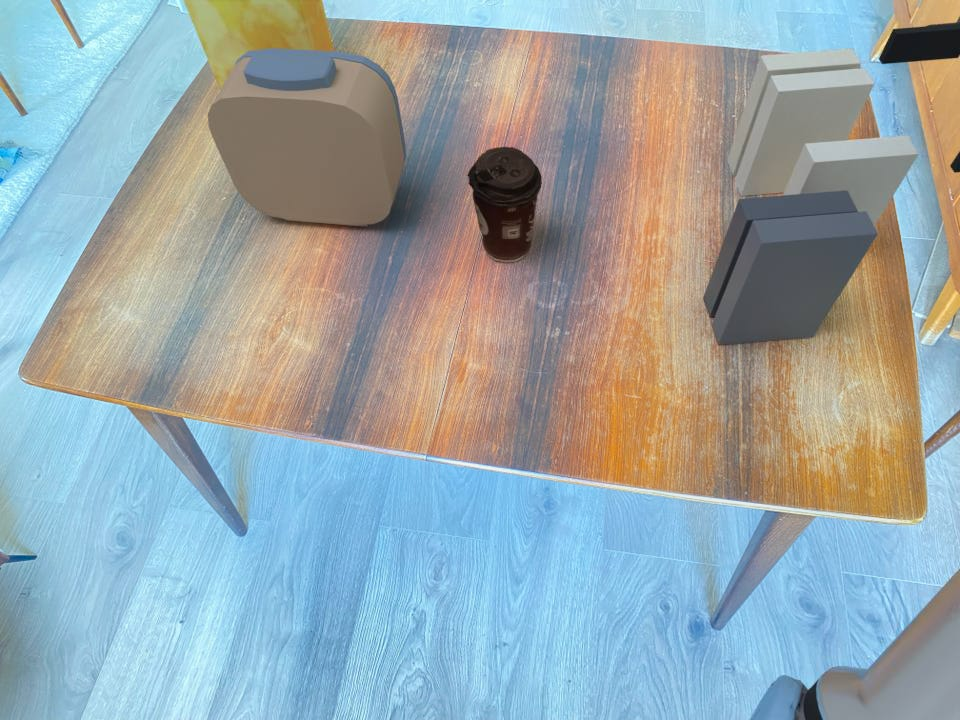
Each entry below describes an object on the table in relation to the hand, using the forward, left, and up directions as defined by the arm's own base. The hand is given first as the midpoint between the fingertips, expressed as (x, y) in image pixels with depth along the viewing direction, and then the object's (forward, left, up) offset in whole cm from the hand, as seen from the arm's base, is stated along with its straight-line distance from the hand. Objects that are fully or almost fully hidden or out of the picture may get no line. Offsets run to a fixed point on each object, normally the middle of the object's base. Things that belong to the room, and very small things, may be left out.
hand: (921, 97), depth 54 cm
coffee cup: (+35, +8, -31) cm, 47 cm away
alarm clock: (+59, +15, -31) cm, 68 cm away
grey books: (+4, +1, -31) cm, 31 cm away
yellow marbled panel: (+85, -2, -31) cm, 90 cm away
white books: (+12, -23, -31) cm, 40 cm away
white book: (+3, -12, -31) cm, 34 cm away
